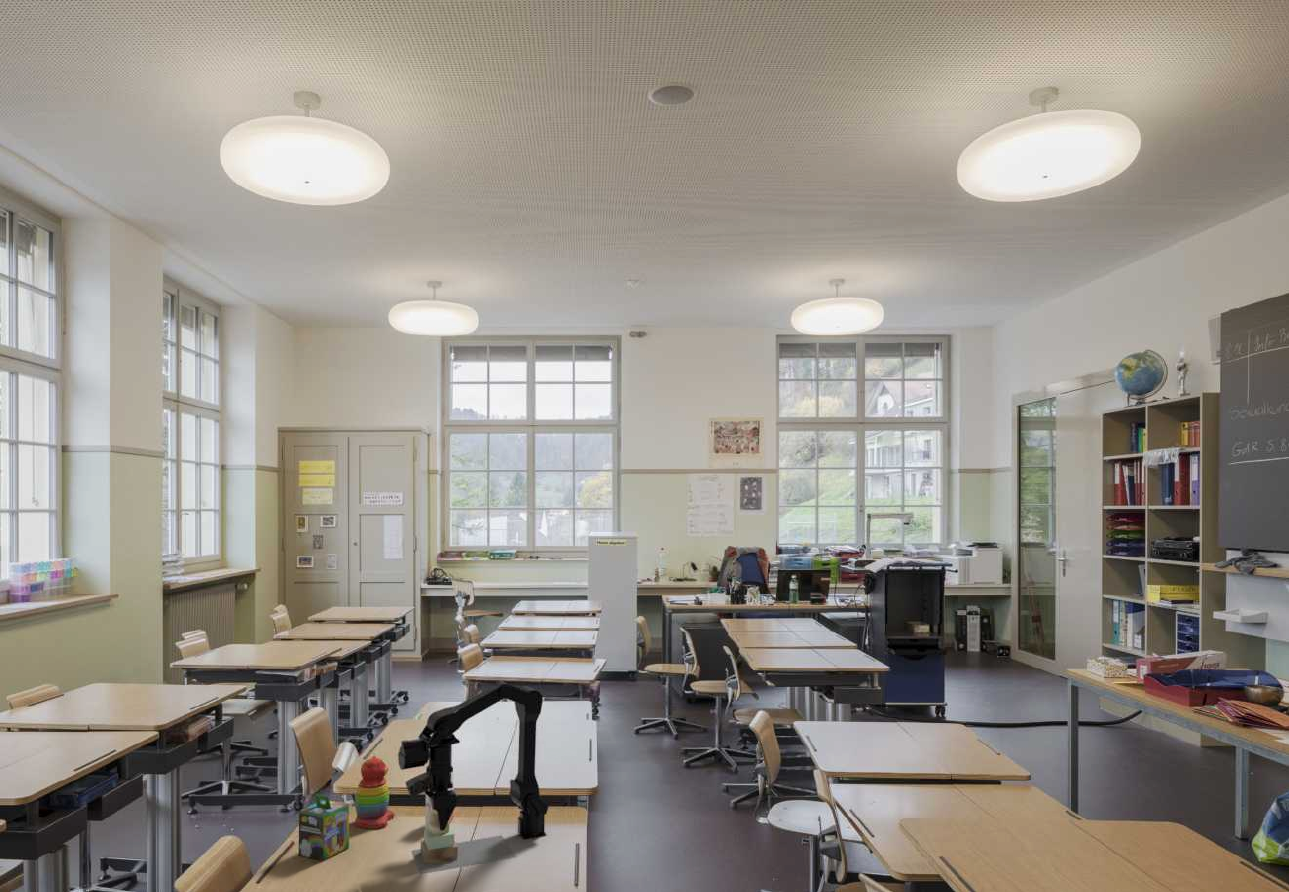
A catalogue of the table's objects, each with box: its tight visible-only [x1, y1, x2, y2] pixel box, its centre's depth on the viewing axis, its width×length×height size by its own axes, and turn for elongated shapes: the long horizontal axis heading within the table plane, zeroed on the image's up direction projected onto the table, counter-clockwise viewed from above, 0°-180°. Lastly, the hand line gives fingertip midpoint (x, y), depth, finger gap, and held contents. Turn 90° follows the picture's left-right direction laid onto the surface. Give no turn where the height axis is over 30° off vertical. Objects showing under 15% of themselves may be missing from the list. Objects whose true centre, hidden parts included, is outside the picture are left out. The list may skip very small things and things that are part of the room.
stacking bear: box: [354, 755, 396, 830], centre depth 236 cm, size 11×10×18 cm
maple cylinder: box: [429, 809, 450, 835], centre depth 212 cm, size 5×5×5 cm
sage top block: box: [423, 824, 455, 850], centre depth 212 cm, size 6×6×3 cm
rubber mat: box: [411, 834, 517, 875], centre depth 212 cm, size 24×15×1 cm, turn 114°
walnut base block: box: [420, 839, 458, 864], centre depth 211 cm, size 8×8×3 cm
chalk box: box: [298, 793, 350, 862], centre depth 215 cm, size 9×9×15 cm
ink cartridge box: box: [425, 771, 455, 829], centre depth 233 cm, size 9×5×15 cm, turn 168°
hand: (439, 824), depth 212 cm, fingers open, 8 cm apart
